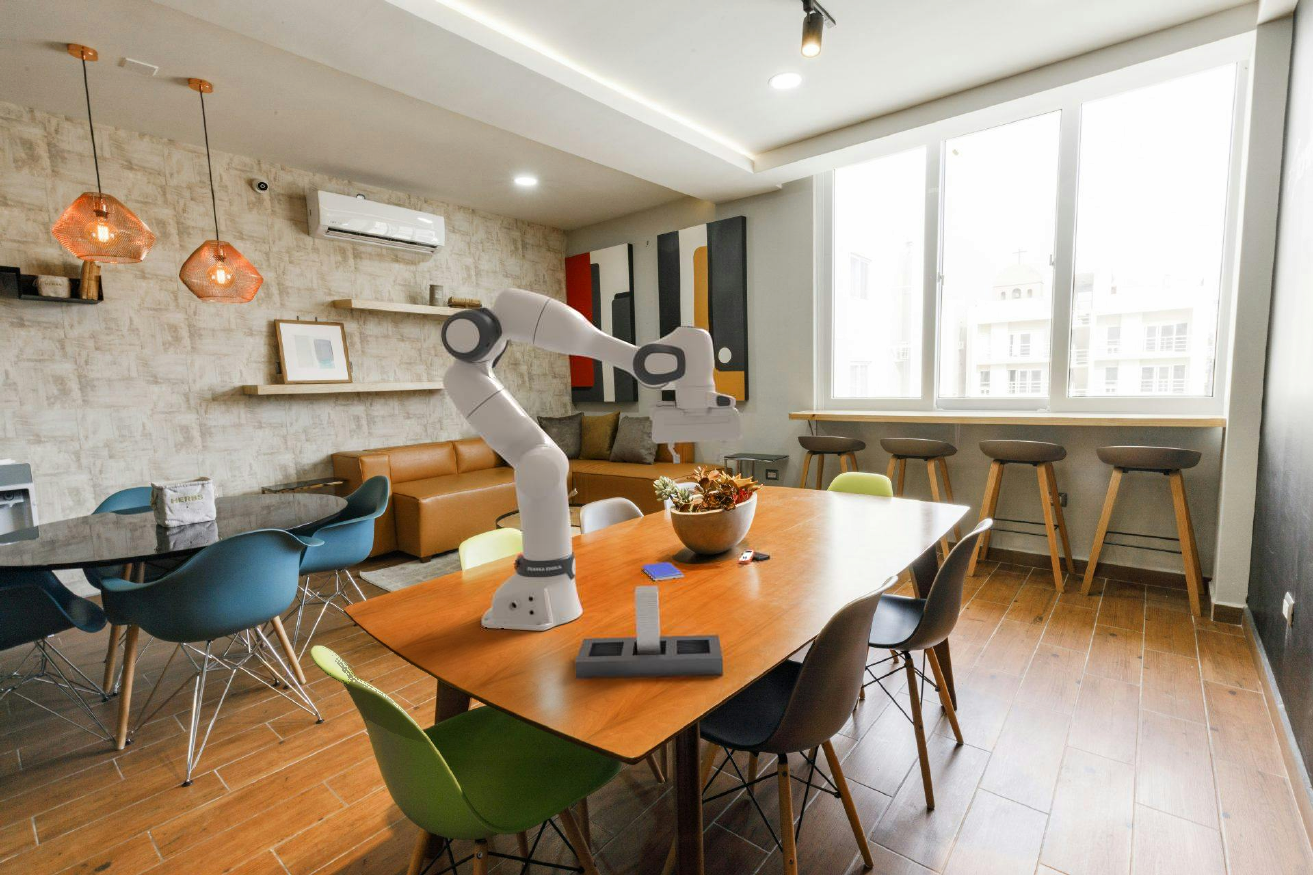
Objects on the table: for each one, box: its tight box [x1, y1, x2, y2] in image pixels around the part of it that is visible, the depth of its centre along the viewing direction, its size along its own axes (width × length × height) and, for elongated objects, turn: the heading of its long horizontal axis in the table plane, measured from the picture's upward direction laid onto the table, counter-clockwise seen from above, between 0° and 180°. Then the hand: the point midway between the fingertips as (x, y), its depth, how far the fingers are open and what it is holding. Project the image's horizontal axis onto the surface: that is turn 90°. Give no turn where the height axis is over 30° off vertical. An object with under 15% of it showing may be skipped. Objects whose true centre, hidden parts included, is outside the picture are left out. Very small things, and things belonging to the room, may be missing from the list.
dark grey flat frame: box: [574, 634, 724, 679], centre depth 109 cm, size 26×10×3 cm, turn 88°
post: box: [634, 585, 661, 655], centre depth 108 cm, size 4×4×14 cm
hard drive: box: [641, 561, 685, 582], centre depth 164 cm, size 2×8×12 cm
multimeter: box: [716, 549, 771, 568], centre depth 169 cm, size 18×12×3 cm, turn 123°
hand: (697, 462), depth 132 cm, fingers open, 8 cm apart
